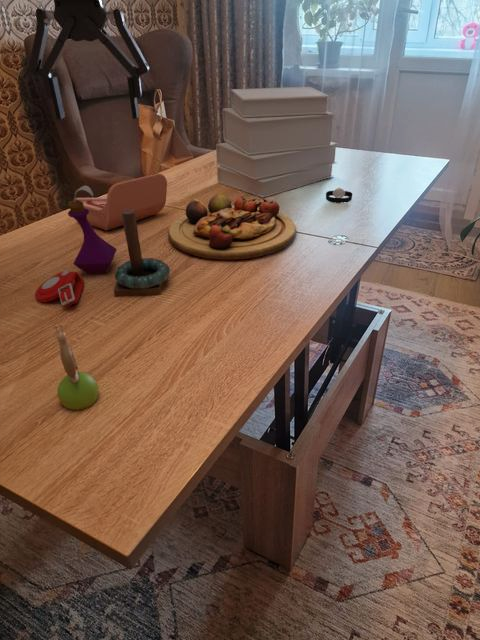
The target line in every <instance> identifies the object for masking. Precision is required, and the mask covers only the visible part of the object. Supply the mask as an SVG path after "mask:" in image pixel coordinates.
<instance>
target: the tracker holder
mask: <svg viewBox="0 0 480 640" xmlns="http://www.w3.org/2000/svg"><path fill="white" fill-rule="evenodd" d="M84 286H85V283H84V278H83V277H82V276H81V275H80V273H79V272H78V271H69V270H66V271H60V272H58V273H56V274H55V275H53V276H51V277H50V278H48V279H46V280H45V281H44V282H42V283H41V284H40V285H39V286H38V287H37V288H36V290H35V292H34V298H35V299H36V300H37V301H38V302H40V303H47V302H51V301H53V300H56V299H57V298H59V300H60V305H61V306H62V307H63V306H67V307H71V306H72V305H74V304H77V303H78V301H79V299H80V297H81V294H82V292H83V289H84Z"/></svg>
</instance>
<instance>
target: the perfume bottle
mask: <svg viewBox="0 0 480 640" xmlns="http://www.w3.org/2000/svg"><path fill="white" fill-rule="evenodd" d="M80 191H85V192H87V193H88V194H89V195H90V196H91V198H94V192H93V191H92V189H91V188H90V187H89V186H88V185H83V186H81V187H79V188H78V189H76V191H75V192H74V198H75V200H74V199H73V200H70V201H69V202H68V203H67V206H68V208H69V210H68V212H67V215H68V217H69V218H73V219H74V220H75V221H76V222H77V223H78V224H79V227H80V229H81V230H82V234H83V242H82V243H81V247H80V250H79V251H78V254H77V255H76V257H75V259H74V261H73V266H75V267H76V268H78V269H80V271H82V272H83V273H85V274H86V275H105V274H107V273H108V271H109V269H110V267H111V265H112V262H113V260H114V257H115V255H116V252H117V248H116V247H115V246H113V245H112V244H110V243H109V242H107V241H106V240H104V239H103V238H102V237H101V236H100V235H99V234H98V233H97V232H96V231H95V229H94V227H93V226H91V225H90V224H89V222H88V220H87V214H88V213H89V211H88V209H86V208H84V204H83V202H81V201H79V200H76V198H77V197H76V196H77V194H78V192H80Z"/></svg>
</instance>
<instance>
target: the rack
mask: <svg viewBox="0 0 480 640" xmlns="http://www.w3.org/2000/svg"><path fill="white" fill-rule="evenodd" d="M122 218H123V224H124V225H123V229H124V234H125V240H126V246H127V251H128V258H129V261H130V263H131V269H132V273H130V274H129V275H130V276H134V277H139V276H147V275H151V274H154V273H155V272H157V271H154V270H144V267H143V261H142V258H143V255H142V249H141V243H140V236H139V231H138V223H137V220H136V217H135V211H134V210H125V211H122ZM162 288H163V283H161V284H160V285H157V286H154V287H150V288H146V289H132V288H128V287H124V286H122V285H120V283H119V282H118V281H117V280H116V282H115V285H114V288H113V294H114V297H117V298H118V297H139V296H160V295H161V293H162Z"/></svg>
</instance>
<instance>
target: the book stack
mask: <svg viewBox="0 0 480 640" xmlns="http://www.w3.org/2000/svg"><path fill="white" fill-rule="evenodd" d="M330 97H331V96H330V95H328V94H326V93H324V92H322V91H320V90H318V89H316V88H314V87H312V86H290V87H287V86H286V87H261V88H260V87H259V88H231V89H230V105H231V106H230V107H225V108H222V109H221V112H222V114H221V115H222V131H223V132H222V133H223V135H222V136H223V141H224V142H220V143H216V144H215V152H216V154H215V155H216V164H217V165H218V166H217V167H216V176H217V182H218V184H222V185H224V186H227V187H230V188H233V189H236V190H238V191H241V192H245V193H247V194H251V195H254V196H256V197H259V198H262V199H265V198H267V197H271V196H274V195H277V194H280V193H284V192H287V191H290V190H293V189H297V188H300V187H304V186H307V185H310V184H314V183H317V181H318V182H321V181H324V180H327V179H326V178H328V179H330V178H329V177H331V176H332V174H333V165H335V164H338V161H335V160H336V149H337V148H336V147H337V146H339V143H338V142H335V141H332V131H333V130H332V129H333V118H334V116H336V113H334V112H331V111H328V110H327V107H328V106H327V104H328V98H330ZM331 178H332V177H331ZM323 179H324V180H323ZM320 180H321V181H320Z"/></svg>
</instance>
